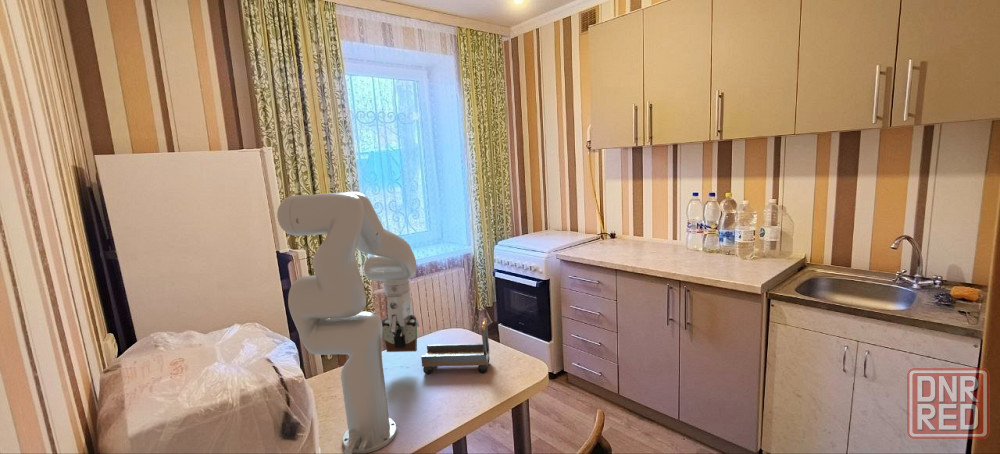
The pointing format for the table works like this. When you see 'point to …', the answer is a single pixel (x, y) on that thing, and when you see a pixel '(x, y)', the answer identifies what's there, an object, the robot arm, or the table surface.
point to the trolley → (458, 354)
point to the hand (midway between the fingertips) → (403, 342)
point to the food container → (408, 333)
